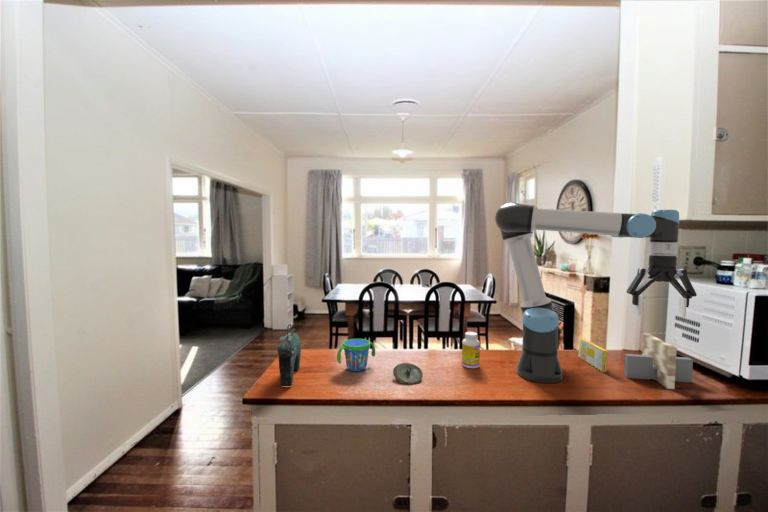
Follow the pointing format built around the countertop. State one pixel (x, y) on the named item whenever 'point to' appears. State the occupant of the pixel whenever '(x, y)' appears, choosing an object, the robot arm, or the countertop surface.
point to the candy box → (593, 354)
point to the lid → (407, 373)
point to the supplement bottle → (470, 350)
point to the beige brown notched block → (661, 359)
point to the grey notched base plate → (644, 368)
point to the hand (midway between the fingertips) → (659, 315)
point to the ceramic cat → (288, 356)
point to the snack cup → (356, 353)
